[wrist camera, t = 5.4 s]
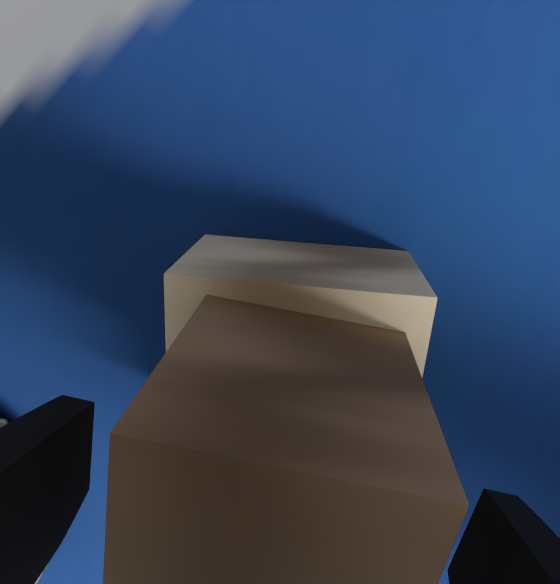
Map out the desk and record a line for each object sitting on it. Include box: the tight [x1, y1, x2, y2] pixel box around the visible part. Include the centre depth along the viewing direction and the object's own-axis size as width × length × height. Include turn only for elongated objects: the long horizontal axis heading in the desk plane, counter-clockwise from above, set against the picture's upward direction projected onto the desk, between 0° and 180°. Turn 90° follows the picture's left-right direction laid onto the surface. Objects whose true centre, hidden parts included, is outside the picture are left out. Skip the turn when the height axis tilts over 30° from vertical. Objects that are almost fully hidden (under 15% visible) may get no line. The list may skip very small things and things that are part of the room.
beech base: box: [164, 234, 437, 377], centre depth 13 cm, size 6×6×4 cm
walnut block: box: [103, 294, 469, 584], centre depth 9 cm, size 4×4×5 cm
